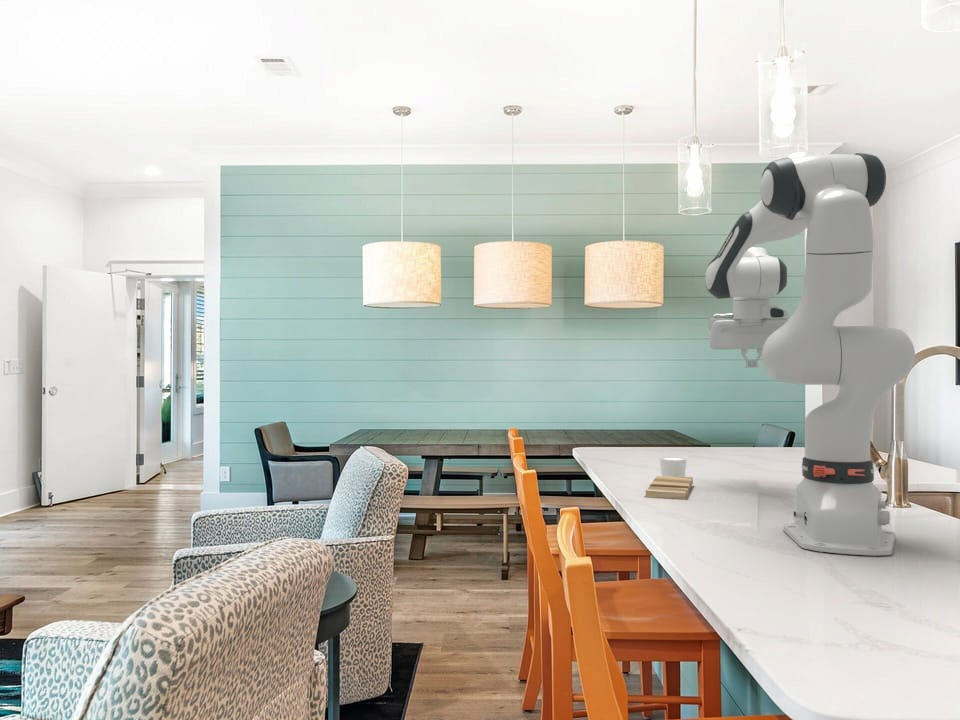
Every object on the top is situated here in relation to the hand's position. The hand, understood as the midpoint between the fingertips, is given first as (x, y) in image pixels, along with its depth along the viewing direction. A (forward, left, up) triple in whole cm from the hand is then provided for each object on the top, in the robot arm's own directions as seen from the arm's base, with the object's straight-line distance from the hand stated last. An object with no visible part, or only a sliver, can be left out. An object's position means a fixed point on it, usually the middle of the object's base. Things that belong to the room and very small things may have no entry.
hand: (752, 367), depth 183 cm
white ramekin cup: (+3, +20, -31) cm, 37 cm away
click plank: (-10, +19, -30) cm, 37 cm away
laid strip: (-20, +19, -31) cm, 41 cm away
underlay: (-13, +19, -31) cm, 39 cm away
